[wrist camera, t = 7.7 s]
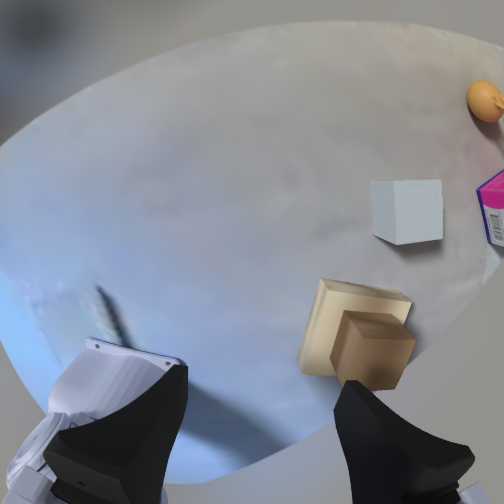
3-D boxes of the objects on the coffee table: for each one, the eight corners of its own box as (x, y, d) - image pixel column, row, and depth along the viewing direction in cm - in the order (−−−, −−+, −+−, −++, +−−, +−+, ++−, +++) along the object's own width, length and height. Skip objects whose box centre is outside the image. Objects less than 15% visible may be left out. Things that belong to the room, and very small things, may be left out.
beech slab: (297, 352, 22) (302, 373, 20) (319, 276, 21) (328, 290, 18) (368, 358, 23) (380, 377, 20) (395, 288, 21) (411, 302, 18)
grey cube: (372, 234, 20) (396, 245, 16) (368, 181, 19) (393, 180, 15) (414, 229, 20) (442, 238, 16) (412, 179, 19) (441, 179, 15)
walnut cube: (329, 357, 19) (342, 391, 15) (343, 309, 18) (363, 338, 14) (375, 359, 19) (394, 389, 15) (391, 313, 18) (416, 339, 14)
